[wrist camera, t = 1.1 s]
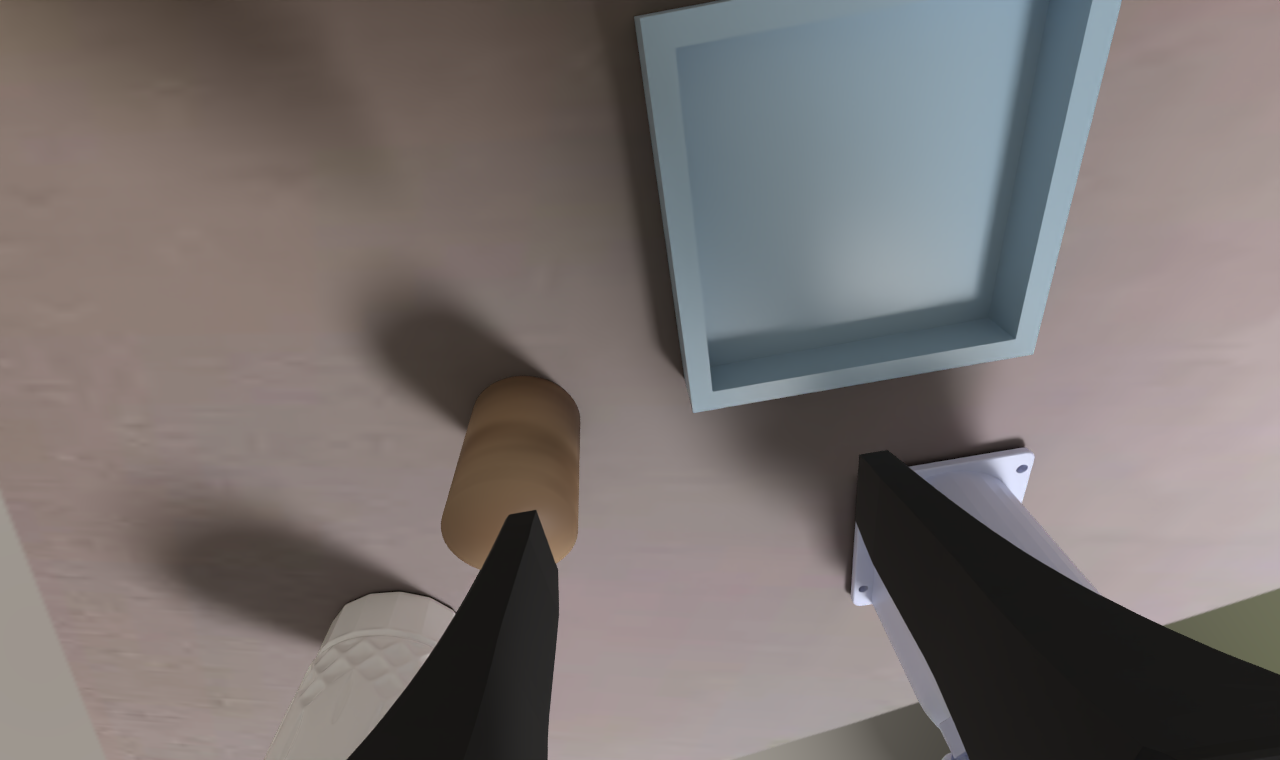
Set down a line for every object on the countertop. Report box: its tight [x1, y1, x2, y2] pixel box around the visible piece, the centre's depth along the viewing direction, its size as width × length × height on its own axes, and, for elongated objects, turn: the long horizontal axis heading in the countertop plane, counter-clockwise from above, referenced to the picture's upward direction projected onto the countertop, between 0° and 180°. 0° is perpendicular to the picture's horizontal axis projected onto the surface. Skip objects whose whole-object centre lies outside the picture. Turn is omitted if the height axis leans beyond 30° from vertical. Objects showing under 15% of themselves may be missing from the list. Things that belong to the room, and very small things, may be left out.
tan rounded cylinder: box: [441, 376, 580, 570], centre depth 22 cm, size 4×4×6 cm
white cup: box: [264, 592, 456, 760], centre depth 27 cm, size 8×8×10 cm
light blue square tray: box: [634, 0, 1122, 413], centre depth 19 cm, size 13×13×2 cm
